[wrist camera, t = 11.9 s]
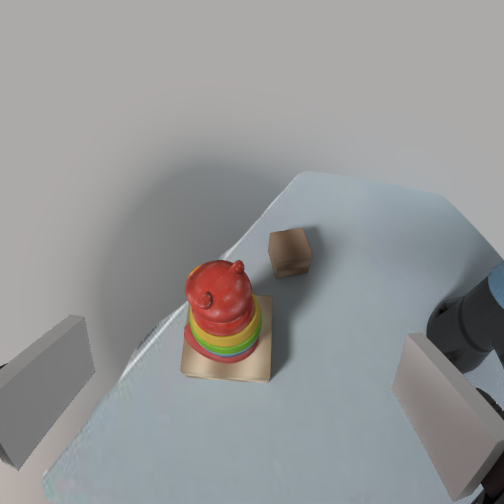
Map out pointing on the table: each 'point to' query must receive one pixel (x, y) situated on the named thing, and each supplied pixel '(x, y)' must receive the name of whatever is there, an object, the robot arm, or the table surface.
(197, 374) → the maple block
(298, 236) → the walnut cube
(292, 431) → the table surface
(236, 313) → the stacking bear
